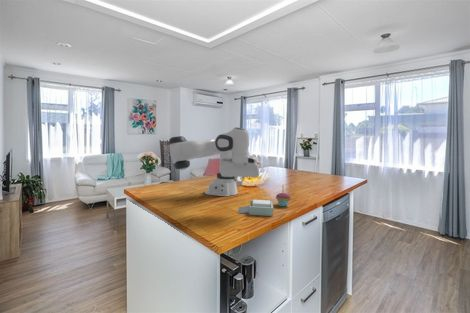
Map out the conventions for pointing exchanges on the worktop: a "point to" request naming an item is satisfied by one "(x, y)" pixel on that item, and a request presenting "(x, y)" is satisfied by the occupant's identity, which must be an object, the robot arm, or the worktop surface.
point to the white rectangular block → (261, 203)
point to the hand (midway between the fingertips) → (239, 184)
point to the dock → (256, 210)
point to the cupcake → (283, 198)
